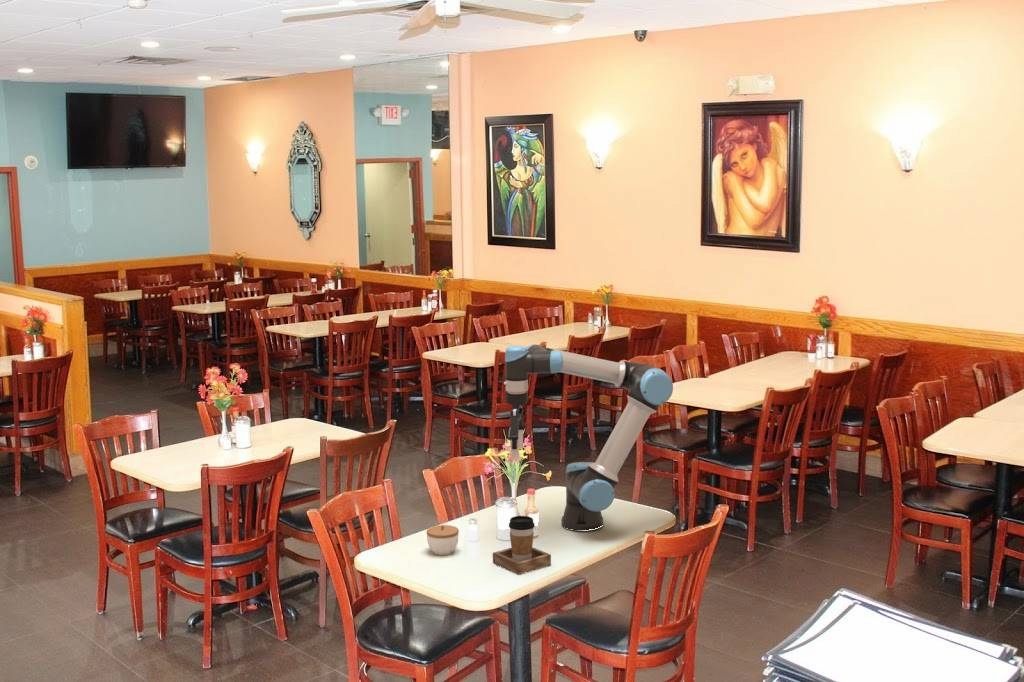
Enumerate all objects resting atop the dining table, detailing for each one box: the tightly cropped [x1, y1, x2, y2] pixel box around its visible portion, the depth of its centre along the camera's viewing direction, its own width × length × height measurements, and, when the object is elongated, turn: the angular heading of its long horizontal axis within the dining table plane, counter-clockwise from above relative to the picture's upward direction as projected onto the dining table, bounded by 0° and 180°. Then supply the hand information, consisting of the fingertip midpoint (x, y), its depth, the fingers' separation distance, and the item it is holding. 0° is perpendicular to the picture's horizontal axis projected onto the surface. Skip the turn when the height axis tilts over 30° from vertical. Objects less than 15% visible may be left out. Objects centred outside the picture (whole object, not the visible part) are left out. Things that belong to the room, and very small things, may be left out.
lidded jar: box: [426, 524, 460, 556], centre depth 353 cm, size 11×11×9 cm
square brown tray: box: [492, 546, 552, 576], centre depth 341 cm, size 13×13×4 cm
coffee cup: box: [508, 515, 536, 562], centre depth 340 cm, size 8×8×15 cm
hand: (517, 453), depth 357 cm, fingers open, 13 cm apart
